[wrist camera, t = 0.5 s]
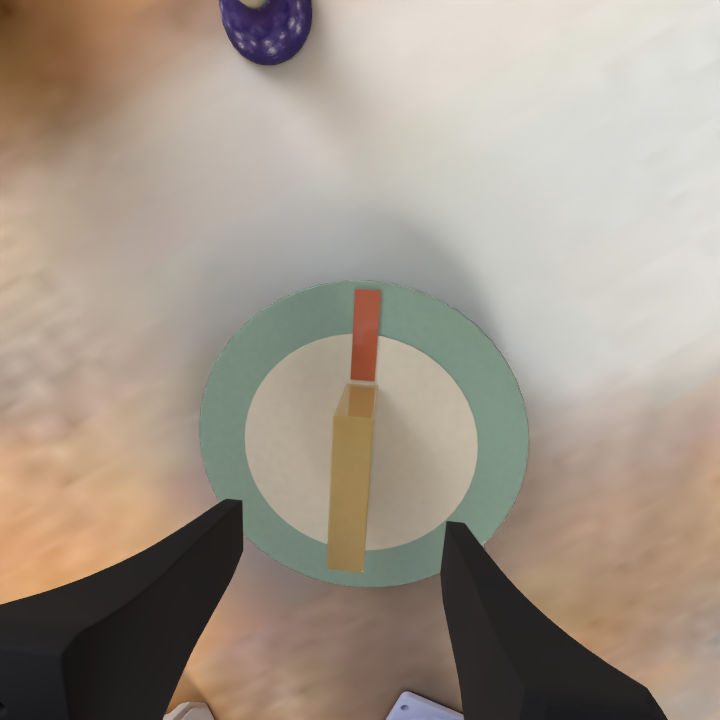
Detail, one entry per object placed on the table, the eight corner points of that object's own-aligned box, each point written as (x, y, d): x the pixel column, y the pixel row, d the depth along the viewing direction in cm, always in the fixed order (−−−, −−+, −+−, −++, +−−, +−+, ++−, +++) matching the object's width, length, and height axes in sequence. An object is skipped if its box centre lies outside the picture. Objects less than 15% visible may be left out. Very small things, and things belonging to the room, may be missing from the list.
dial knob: (499, 592, 22) (531, 690, 17) (211, 560, 23) (159, 642, 18) (549, 291, 18) (610, 299, 13) (200, 270, 19) (130, 270, 14)
